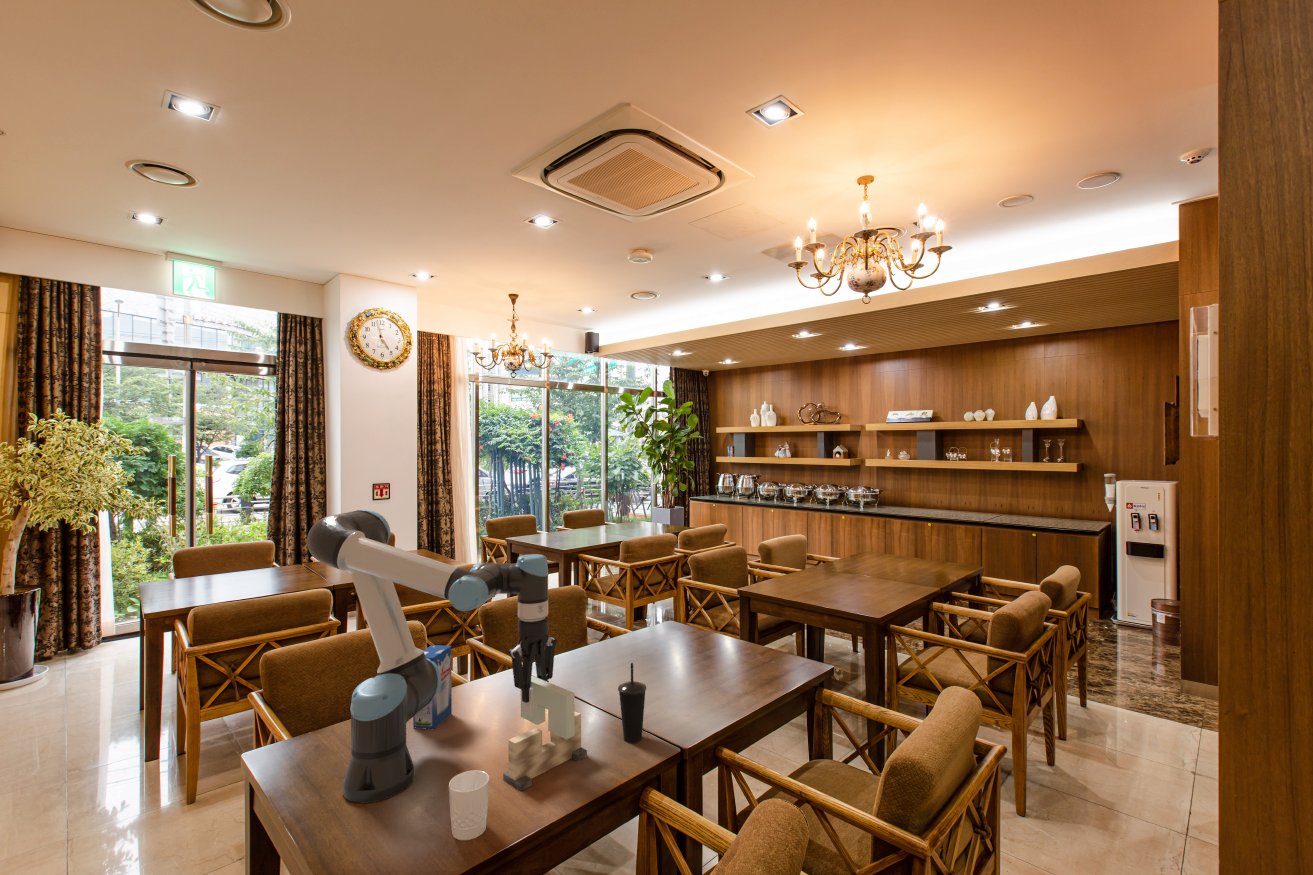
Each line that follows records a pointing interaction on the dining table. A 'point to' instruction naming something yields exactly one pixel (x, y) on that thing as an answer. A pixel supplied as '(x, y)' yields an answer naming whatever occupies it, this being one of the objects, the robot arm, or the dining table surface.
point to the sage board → (552, 707)
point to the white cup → (469, 804)
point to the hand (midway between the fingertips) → (534, 711)
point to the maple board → (540, 754)
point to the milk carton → (443, 699)
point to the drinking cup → (632, 708)
